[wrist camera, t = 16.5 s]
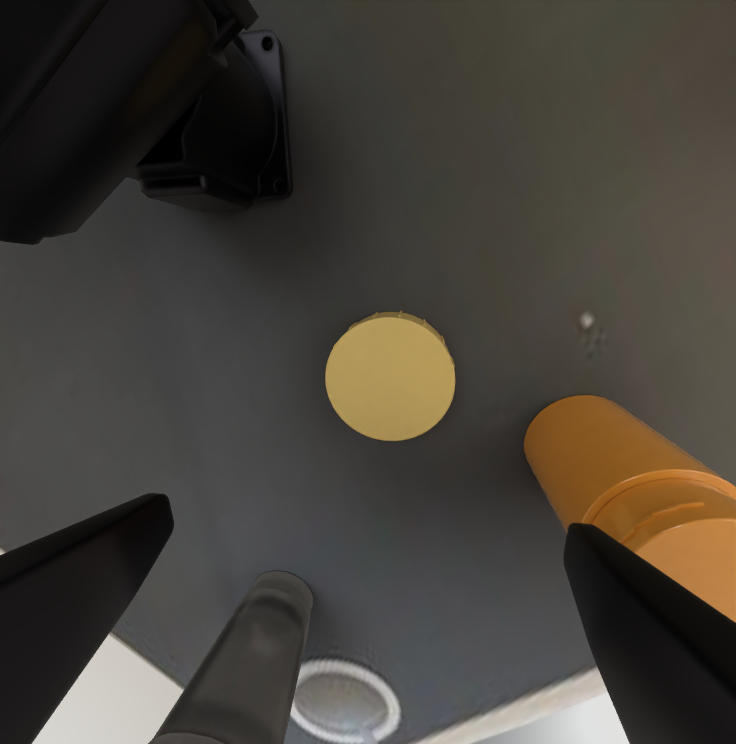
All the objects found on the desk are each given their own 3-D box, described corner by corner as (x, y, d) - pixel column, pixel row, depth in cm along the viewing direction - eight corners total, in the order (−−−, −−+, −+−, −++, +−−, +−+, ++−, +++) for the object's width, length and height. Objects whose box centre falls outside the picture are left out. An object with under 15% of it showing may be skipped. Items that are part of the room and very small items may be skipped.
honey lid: (425, 439, 20) (426, 459, 18) (321, 400, 20) (310, 415, 18) (471, 335, 18) (478, 344, 16) (355, 293, 18) (346, 297, 16)
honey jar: (529, 393, 18) (623, 503, 10) (646, 395, 18) (857, 517, 9) (518, 485, 20) (592, 647, 12) (625, 491, 19) (789, 670, 11)
